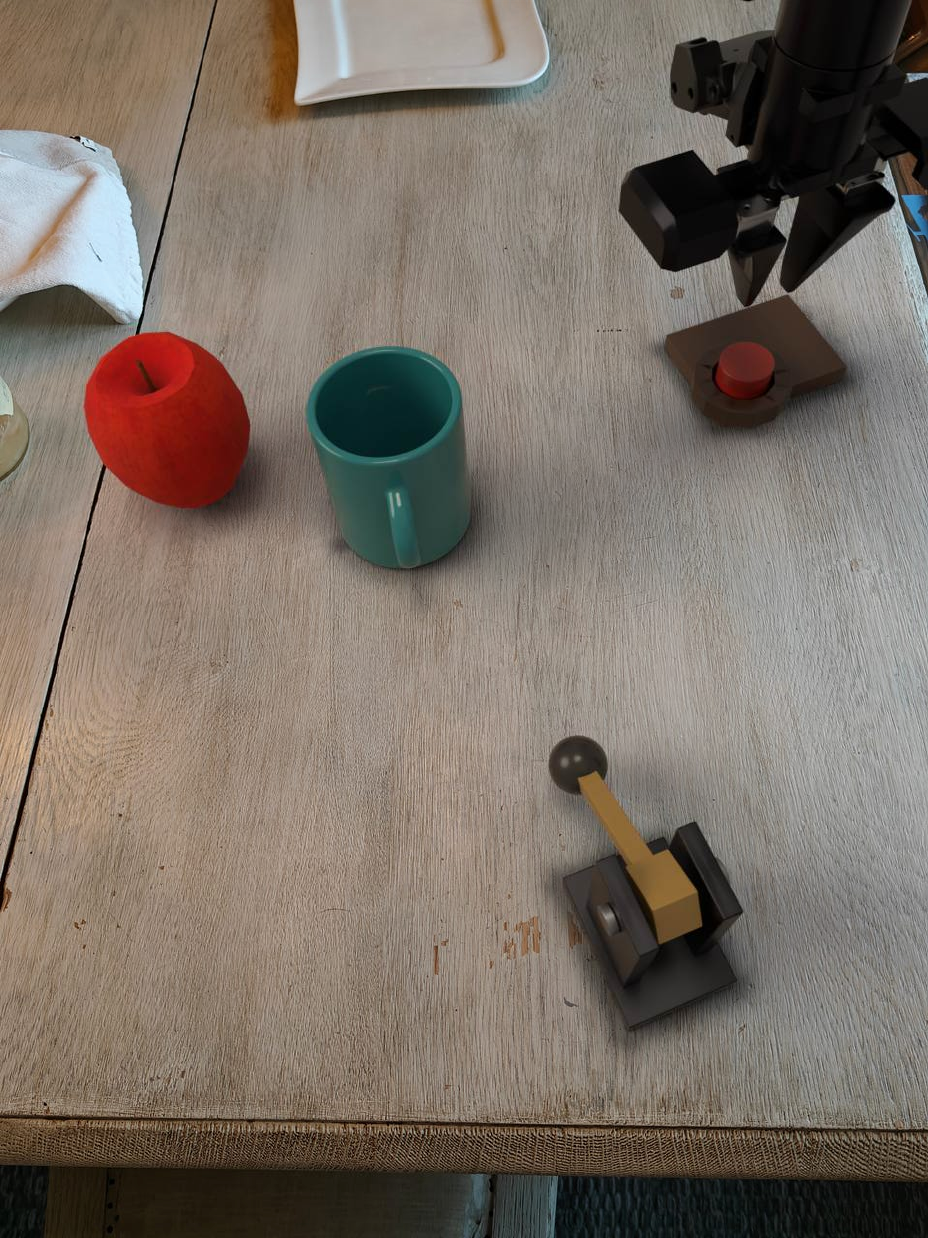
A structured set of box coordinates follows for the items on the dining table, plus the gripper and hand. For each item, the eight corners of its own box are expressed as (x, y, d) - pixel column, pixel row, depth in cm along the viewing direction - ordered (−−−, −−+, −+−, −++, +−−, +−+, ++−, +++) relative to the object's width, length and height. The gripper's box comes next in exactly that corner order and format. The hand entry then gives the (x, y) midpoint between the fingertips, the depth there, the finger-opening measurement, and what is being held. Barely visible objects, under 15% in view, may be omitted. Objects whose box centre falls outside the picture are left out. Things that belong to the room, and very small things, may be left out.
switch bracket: (561, 883, 52) (568, 829, 43) (661, 842, 53) (687, 780, 44) (627, 1031, 48) (648, 1004, 40) (733, 984, 49) (776, 948, 40)
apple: (117, 455, 69) (42, 327, 58) (248, 411, 70) (197, 277, 59) (147, 561, 64) (71, 443, 53) (287, 511, 65) (239, 386, 55)
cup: (348, 621, 61) (314, 519, 51) (334, 474, 67) (300, 356, 57) (489, 599, 61) (481, 493, 51) (461, 454, 67) (450, 334, 57)
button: (752, 353, 66) (757, 335, 65) (779, 389, 65) (785, 370, 63) (705, 370, 66) (709, 351, 64) (731, 406, 64) (736, 387, 63)
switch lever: (545, 779, 54) (535, 736, 52) (597, 758, 54) (588, 715, 52) (650, 955, 43) (641, 909, 41) (713, 928, 43) (707, 880, 42)
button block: (783, 308, 72) (793, 276, 69) (859, 402, 67) (873, 371, 64) (648, 354, 70) (652, 323, 68) (716, 453, 66) (723, 424, 63)
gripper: (907, -89, 50) (827, 176, 64) (583, 3, 48) (571, 258, 61) (1045, 17, 45) (925, 281, 59) (688, 126, 43) (650, 376, 56)
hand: (764, 294), depth 59 cm, fingers open, 3 cm apart
